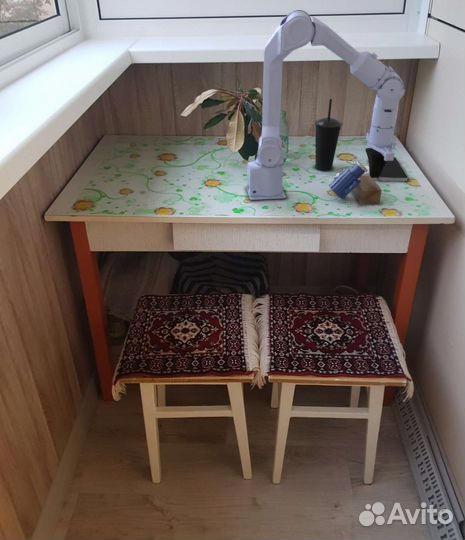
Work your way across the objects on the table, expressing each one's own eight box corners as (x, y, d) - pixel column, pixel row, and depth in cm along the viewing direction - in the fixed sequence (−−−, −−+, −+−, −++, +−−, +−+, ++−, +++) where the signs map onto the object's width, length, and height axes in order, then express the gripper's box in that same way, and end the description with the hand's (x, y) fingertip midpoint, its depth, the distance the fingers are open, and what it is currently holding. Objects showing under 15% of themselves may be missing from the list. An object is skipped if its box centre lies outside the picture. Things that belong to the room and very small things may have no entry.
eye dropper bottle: (369, 159, 142) (332, 165, 138) (378, 174, 139) (340, 181, 136) (363, 169, 146) (327, 175, 142) (372, 184, 143) (335, 191, 140)
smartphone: (379, 177, 141) (369, 156, 153) (379, 181, 142) (368, 160, 154) (408, 177, 141) (395, 156, 153) (408, 181, 141) (394, 160, 154)
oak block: (360, 205, 130) (362, 190, 127) (350, 189, 137) (352, 176, 135) (379, 204, 130) (381, 189, 128) (368, 189, 137) (370, 175, 135)
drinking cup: (329, 175, 145) (336, 105, 134) (305, 168, 149) (311, 100, 137) (341, 166, 150) (349, 98, 139) (318, 160, 154) (325, 93, 142)
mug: (332, 206, 129) (337, 169, 123) (325, 194, 135) (329, 158, 129) (368, 204, 130) (374, 167, 124) (359, 192, 136) (365, 157, 130)
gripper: (410, 134, 117) (399, 188, 125) (388, 115, 129) (379, 165, 137) (381, 135, 116) (372, 189, 124) (361, 116, 128) (354, 166, 136)
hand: (374, 176), depth 130 cm, fingers closed
